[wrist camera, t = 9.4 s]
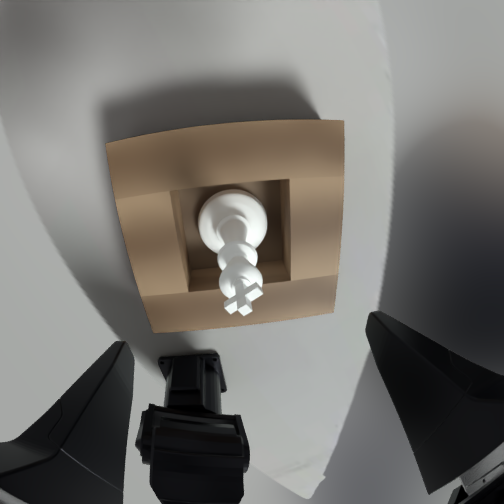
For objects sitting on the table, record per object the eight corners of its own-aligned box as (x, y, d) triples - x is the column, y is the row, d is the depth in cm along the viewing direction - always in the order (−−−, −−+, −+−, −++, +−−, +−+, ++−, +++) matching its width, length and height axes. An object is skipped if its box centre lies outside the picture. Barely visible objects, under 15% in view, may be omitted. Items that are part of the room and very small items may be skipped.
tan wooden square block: (318, 284, 25) (333, 312, 21) (161, 302, 24) (153, 333, 20) (321, 119, 18) (344, 120, 15) (126, 138, 17) (105, 143, 14)
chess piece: (184, 216, 19) (157, 301, 10) (240, 175, 19) (262, 228, 10) (225, 265, 21) (232, 366, 13) (279, 229, 21) (324, 315, 12)
